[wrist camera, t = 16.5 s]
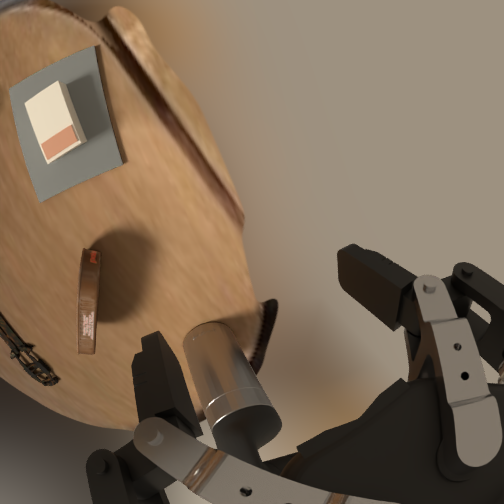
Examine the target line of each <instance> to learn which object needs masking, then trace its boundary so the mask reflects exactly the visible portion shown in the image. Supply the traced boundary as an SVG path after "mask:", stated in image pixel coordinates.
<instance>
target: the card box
mask: <svg viewBox="0 0 504 504" xmlns="http://www.w3.org/2000/svg"><path fill="white" fill-rule="evenodd" d="M25 106H26V109H27V112H28V115H29V118H30V121H31V124H32V127H33V129H34V132H35V135H36V137H37V140H38V143H39V145H40V148H41V150H42V152H43V155H44V157H45V159H46V162H47V164H49V163H52V162H54V161H56V160H58V159H59V158H61V157H62V156H64V155H65V154H67V153H68V152H70V151H72V150H73V149H75V148H77V147H78V146H80V145H82V144H83V143H85V142H87V139H86V137H85V134H84V132H83V129H82V127H81V124H80V122H79V119H78V117H77V114H76V111H75V109H74V106H73V103H72V100H71V98H70V95H69V92H68V89H67V86H66V84H64V83H62V82H60V81H56V82H55V83H53V84H52V85H50V86H48V87H47V88H45V89H44V90H42V91H41V92H39V93H38V94H37V95H35V96H34V97H32V98H31V99H29V100H28V101H27V102H25Z"/></svg>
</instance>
